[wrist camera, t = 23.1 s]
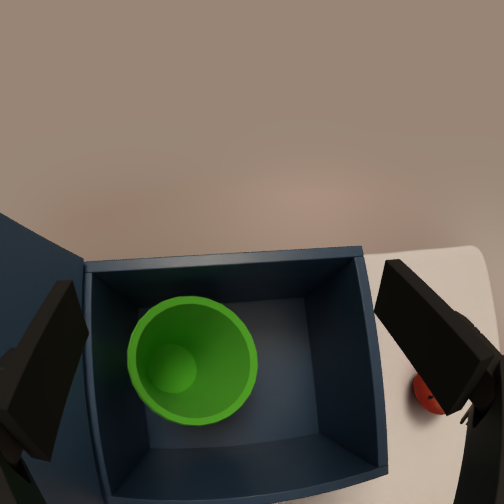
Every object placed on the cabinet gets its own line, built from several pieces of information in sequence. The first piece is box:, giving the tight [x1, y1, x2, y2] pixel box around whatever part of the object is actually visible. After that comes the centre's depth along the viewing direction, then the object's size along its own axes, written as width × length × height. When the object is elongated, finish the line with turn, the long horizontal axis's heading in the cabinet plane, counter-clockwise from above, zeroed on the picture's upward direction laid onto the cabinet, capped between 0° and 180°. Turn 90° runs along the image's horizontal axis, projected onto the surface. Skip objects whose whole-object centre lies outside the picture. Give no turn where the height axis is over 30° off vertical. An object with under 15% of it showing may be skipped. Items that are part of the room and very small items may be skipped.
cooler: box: [82, 246, 388, 504], centre depth 24 cm, size 19×17×14 cm
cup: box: [127, 296, 258, 426], centre depth 24 cm, size 9×9×11 cm
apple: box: [413, 374, 445, 415], centre depth 28 cm, size 8×7×10 cm
